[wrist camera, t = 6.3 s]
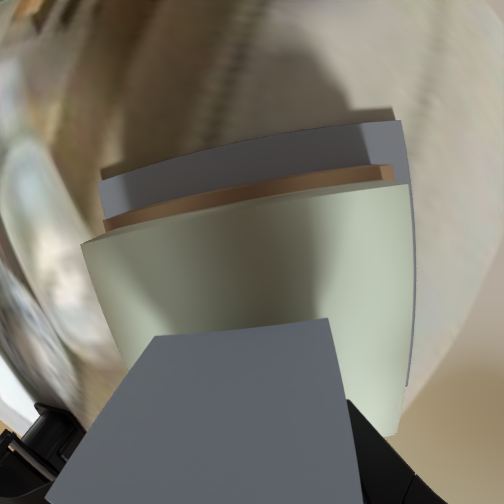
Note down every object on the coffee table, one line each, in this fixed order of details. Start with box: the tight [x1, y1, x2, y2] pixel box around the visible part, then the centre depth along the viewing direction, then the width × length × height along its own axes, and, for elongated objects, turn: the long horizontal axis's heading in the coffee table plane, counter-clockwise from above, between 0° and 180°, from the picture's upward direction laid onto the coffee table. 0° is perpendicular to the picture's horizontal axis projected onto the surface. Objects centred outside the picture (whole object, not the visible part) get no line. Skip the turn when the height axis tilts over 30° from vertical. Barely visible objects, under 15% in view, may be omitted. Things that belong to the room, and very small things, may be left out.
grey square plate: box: [97, 120, 416, 387], centre depth 15 cm, size 16×16×1 cm
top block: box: [45, 318, 363, 504], centre depth 6 cm, size 5×5×6 cm
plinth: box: [80, 164, 414, 437], centre depth 13 cm, size 12×12×6 cm
